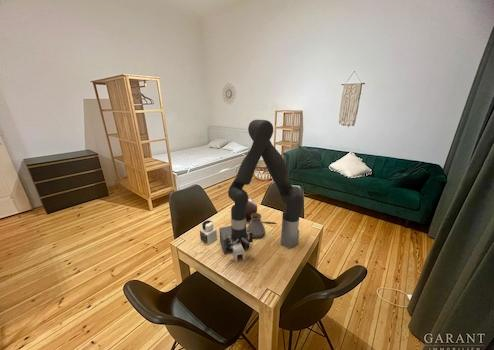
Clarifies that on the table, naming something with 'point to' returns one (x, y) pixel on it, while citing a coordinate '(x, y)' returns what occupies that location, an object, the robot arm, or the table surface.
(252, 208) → the wooden sphere
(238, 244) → the long white plank
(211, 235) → the medicine bottle
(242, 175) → the robot arm
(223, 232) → the shelf
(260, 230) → the coffee pot
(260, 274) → the table surface
